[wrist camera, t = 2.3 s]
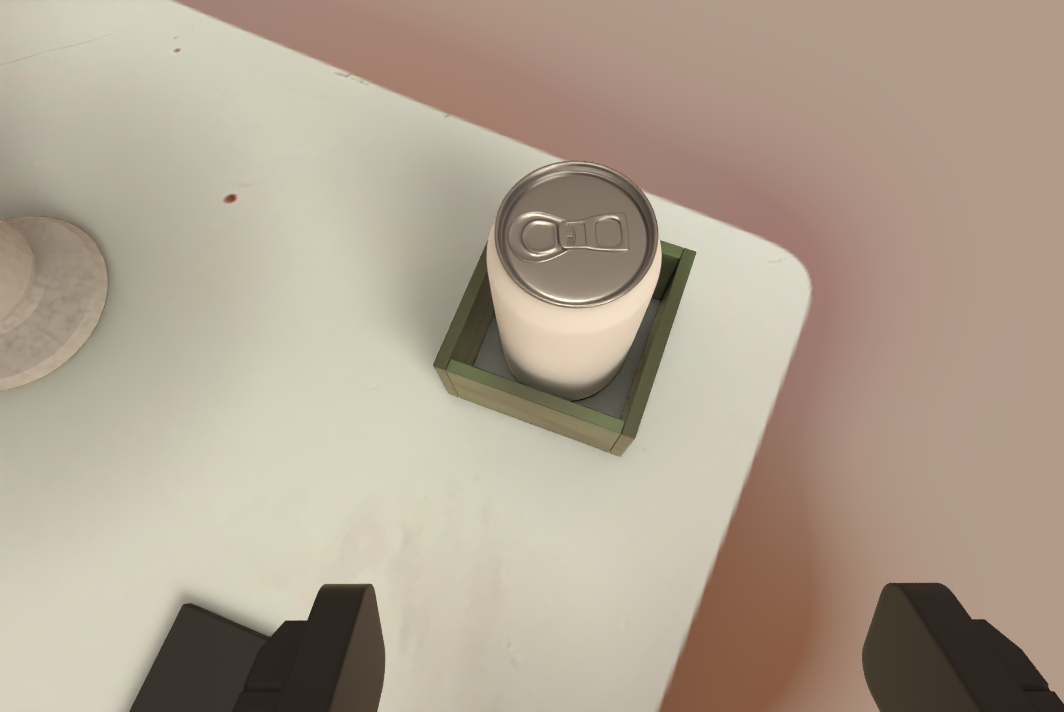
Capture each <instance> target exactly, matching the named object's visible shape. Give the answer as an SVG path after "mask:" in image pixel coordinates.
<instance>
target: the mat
mask: <svg viewBox="0 0 1064 712" xmlns="http://www.w3.org/2000/svg"><path fill="white" fill-rule="evenodd" d="M268 640H269V637H267V636H265V635H262V634H260V633H258V632H255V631H253V630H251V629H248V628H246V627H244V626H241V625H239V624H237V623H234V622H232V621H230V620H227V619H225V618H223V617H220V616H218V615H216V614H213V613H211V612H209V611H206V610H204V609H202V608H200V607H197V606H195V605H193V604H184V605H183V606H182V608H181V610H180V612H179V614H178V616H177V618H176V620H175V622H174V624H173V626H172V628H171V630H170V632H169V634H168V636H167V638H166V640H165V642H164V644H163V646H162V648H161V650H160V652H159V654H158V656H157V658H156V660H155V662H154V664H153V666H152V668H151V670H150V672H149V674H148V676H147V678H146V680H145V682H144V684H143V686H142V688H141V690H140V692H139V694H138V696H137V698H136V700H135V702H134V704H133V706H132V708H131V710H130V712H232V710H233V708H234V706H235V704H236V701H237V699H238V697H239V694H240V692H243V689H244V683H245V681H246V678H247V676H248V674H249V672H250V669H251V667H252V665H253V663H254V660H255V658H256V656H257V653H258V651H259V650H260V648H261V647H262V646H263V645H264V644H265V643H266V642H267V641H268Z"/></svg>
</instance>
